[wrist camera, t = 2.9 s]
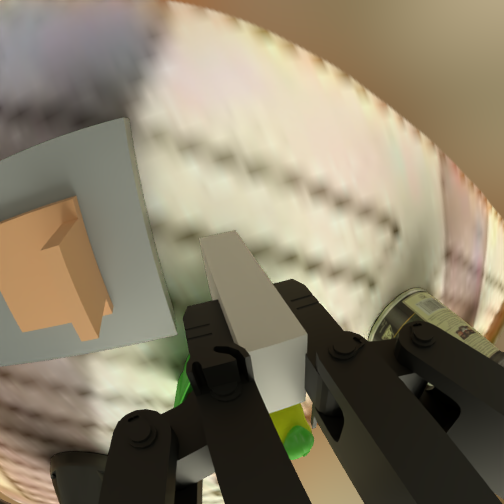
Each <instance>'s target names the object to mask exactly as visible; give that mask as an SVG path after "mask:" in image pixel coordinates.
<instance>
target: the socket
mask: <svg viewBox="0 0 504 504" xmlns="http://www.w3.org/2000/svg"><path fill="white" fill-rule="evenodd" d="M73 196H77V200H78V204H79V207H80V211H81V214H82V218H83V221H84V225H85V228H86V231H87V235H88V238H89V241H90V244H91V247H92V250H93V253H94V256H95V259H96V262H97V265H98V268H99V270H100V273H101V276H102V278H103V281H104V284H105V286H106V289H107V291H108V294H109V297H110V299H111V301H112V304H113V306H114V307H113V313H112V314H109V315H105V316H103V317H102V322H101V328H100V334H99V338H98V339H93V340H88V341H81V340H80V338H79V336H78V334H77V332H76V330H75V328H74V327H73V325H72V323H67V324H63V325H58V326H53V327H48V328H43V329H38V330H33V331H28V332H23V333H22V331H21V329H20V327H19V326H18V324H17V322H16V320H15V319H14V317H13V315H12V313H11V311H10V309H9V307H8V305H7V303H6V301H5V299H4V297H3V295H2V293H1V291H0V366H9V365H17V364H24V363H32V362H39V361H45V360H52V359H58V358H65V357H71V356H76V355H82V354H88V353H93V352H99V351H104V350H109V349H114V348H119V347H124V346H129V345H134V344H138V343H143V342H148V341H152V340H157V339H161V338H166V337H170V336H174V335H178V334H177V328H176V321H175V315H174V309H173V306H172V303H171V299H170V296H169V293H168V289H167V286H166V282H165V279H164V276H163V272H162V268H161V265H160V261H159V258H158V254H157V250H156V246H155V242H154V238H153V235H152V230H151V226H150V222H149V218H148V214H147V210H146V205H145V201H144V196H143V192H142V187H141V182H140V177H139V172H138V167H137V162H136V157H135V151H134V145H133V140H132V134H131V127H130V121H129V119H128V118H124V117H123V118H119V119H115V120H111V121H107V122H104V123H100V124H97V125H93V126H90V127H87V128H84V129H80V130H77V131H74V132H71V133H68V134H65V135H62V136H60V137H57V138H54V139H51V140H49V141H46V142H43V143H41V144H38V145H36V146H33V147H31V148H28V149H26V150H23V151H21V152H19V153H16V154H14V155H12V156H10V157H7V158H5V159H3V160H1V161H0V222H1V221H4V220H6V219H9V218H12V217H14V216H17V215H20V214H22V213H25V212H28V211H31V210H33V209H36V208H39V207H42V206H45V205H48V204H51V203H54V202H57V201H60V200H63V199H66V198H70V197H73Z"/></svg>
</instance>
